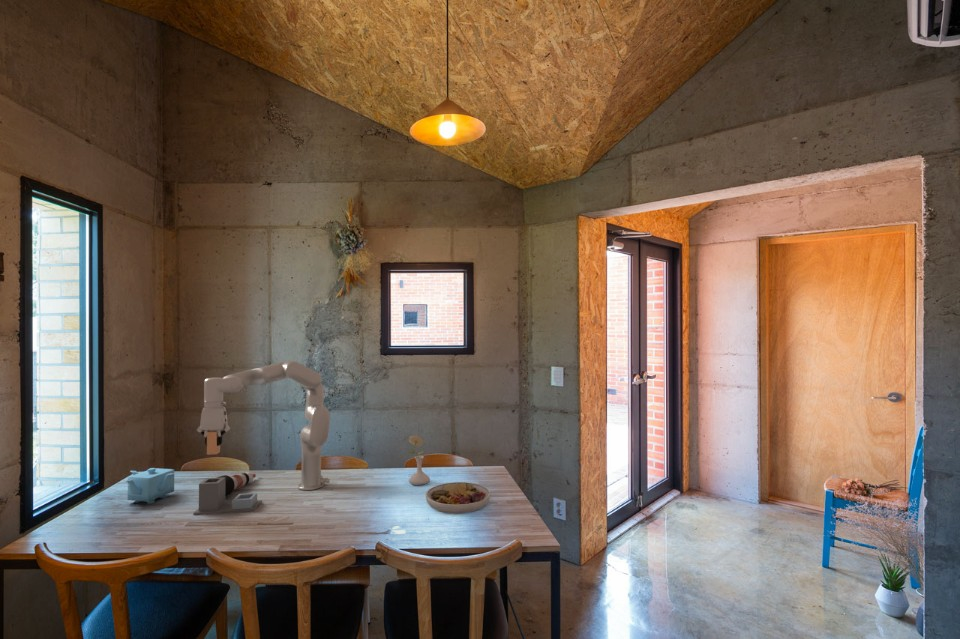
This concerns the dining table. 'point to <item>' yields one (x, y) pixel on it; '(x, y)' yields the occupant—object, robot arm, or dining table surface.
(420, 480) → the flower in vase
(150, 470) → the teakettle
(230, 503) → the socket stand
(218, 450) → the peg
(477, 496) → the bowl
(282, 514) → the dining table surface
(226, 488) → the cable
